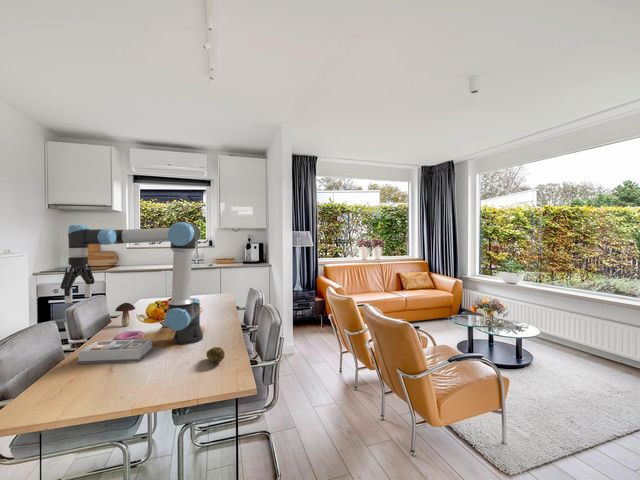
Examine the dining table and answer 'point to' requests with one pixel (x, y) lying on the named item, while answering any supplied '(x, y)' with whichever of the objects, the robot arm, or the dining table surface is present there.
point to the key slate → (116, 346)
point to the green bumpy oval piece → (215, 354)
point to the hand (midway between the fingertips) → (78, 299)
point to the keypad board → (115, 352)
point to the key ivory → (135, 346)
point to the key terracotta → (98, 347)
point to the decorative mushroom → (125, 312)
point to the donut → (130, 335)
